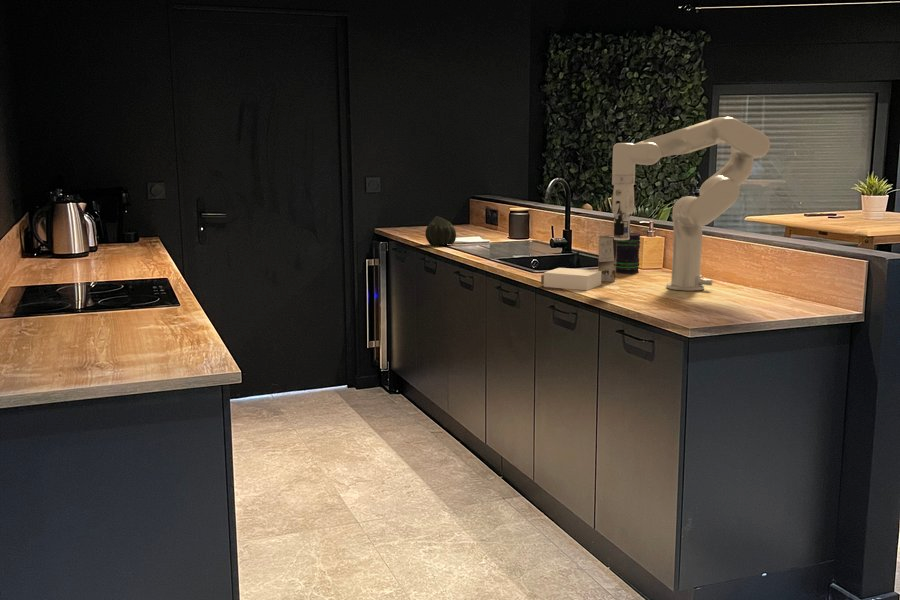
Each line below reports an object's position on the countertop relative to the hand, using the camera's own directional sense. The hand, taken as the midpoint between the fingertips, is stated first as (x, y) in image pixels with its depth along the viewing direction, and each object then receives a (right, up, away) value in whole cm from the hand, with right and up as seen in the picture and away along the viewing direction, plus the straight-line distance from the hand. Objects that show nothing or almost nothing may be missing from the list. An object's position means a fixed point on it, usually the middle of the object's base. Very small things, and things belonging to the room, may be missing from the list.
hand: (621, 233), depth 293 cm
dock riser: (-15, -17, +11) cm, 26 cm away
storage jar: (+11, -12, +45) cm, 47 cm away
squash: (-63, +4, +133) cm, 148 cm away
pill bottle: (0, -2, 0) cm, 2 cm away
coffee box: (-1, -15, +25) cm, 29 cm away
